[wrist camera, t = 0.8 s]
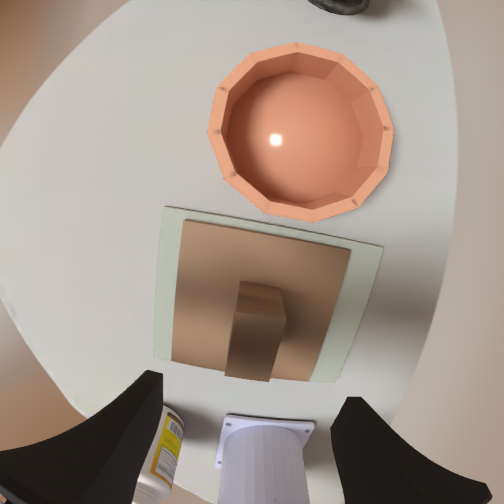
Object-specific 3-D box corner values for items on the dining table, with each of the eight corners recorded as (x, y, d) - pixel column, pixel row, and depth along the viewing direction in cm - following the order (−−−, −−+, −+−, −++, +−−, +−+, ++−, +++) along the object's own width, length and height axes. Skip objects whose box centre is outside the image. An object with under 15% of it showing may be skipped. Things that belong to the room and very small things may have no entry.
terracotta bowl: (351, 224, 17) (373, 235, 14) (207, 196, 17) (195, 201, 13) (374, 90, 15) (399, 75, 11) (234, 56, 14) (230, 31, 11)
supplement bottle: (121, 415, 22) (85, 495, 12) (141, 388, 21) (99, 482, 11) (170, 442, 23) (149, 524, 13) (197, 419, 22) (177, 516, 12)
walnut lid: (307, 376, 20) (317, 420, 15) (173, 356, 19) (156, 398, 15) (347, 248, 17) (377, 272, 13) (185, 218, 17) (162, 234, 12)
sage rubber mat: (334, 379, 20) (335, 382, 20) (155, 353, 20) (153, 356, 19) (381, 246, 17) (383, 248, 17) (165, 206, 17) (163, 206, 16)
